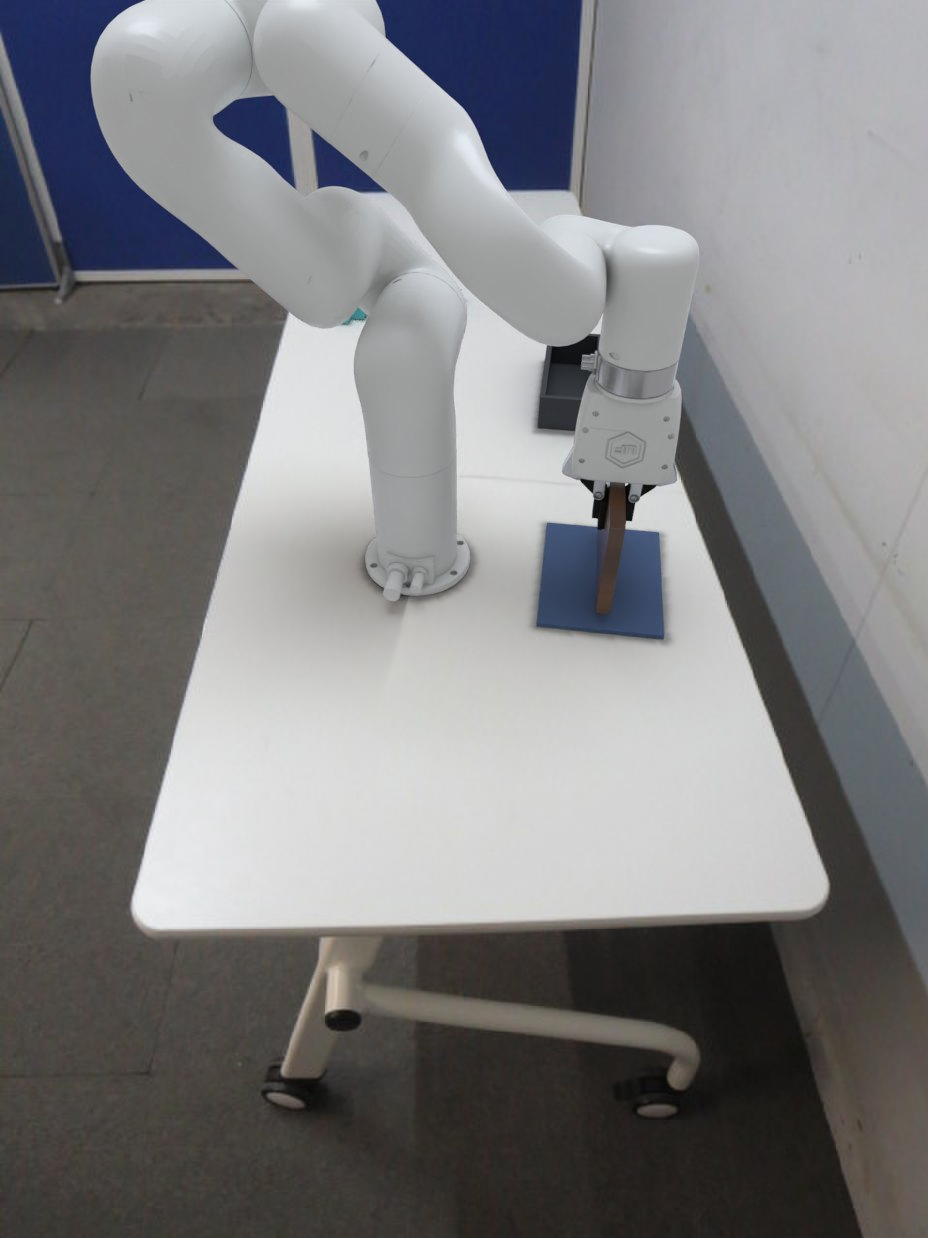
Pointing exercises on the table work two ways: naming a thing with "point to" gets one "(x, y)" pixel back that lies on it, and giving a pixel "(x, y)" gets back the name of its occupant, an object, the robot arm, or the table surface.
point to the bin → (564, 383)
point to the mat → (574, 583)
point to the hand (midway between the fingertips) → (610, 522)
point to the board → (610, 547)
